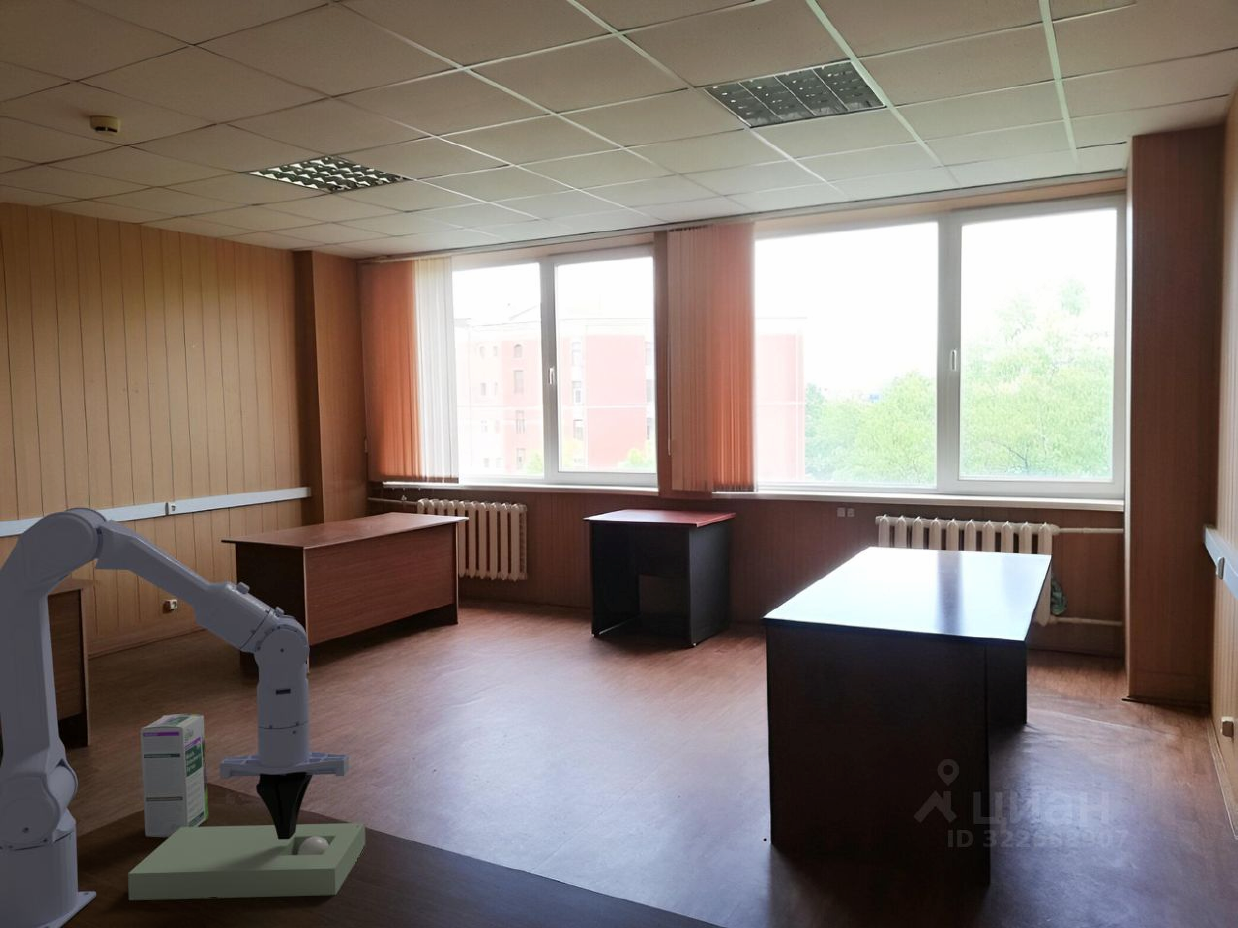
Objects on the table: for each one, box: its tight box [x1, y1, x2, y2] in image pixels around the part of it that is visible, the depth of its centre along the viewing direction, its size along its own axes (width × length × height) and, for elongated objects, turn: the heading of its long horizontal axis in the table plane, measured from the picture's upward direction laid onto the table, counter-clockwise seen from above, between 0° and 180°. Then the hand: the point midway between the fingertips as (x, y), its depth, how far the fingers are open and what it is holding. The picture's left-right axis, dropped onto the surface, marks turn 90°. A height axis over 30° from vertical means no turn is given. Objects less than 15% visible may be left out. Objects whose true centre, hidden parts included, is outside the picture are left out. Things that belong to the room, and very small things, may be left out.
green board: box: [127, 822, 366, 901], centre depth 104 cm, size 23×12×3 cm, turn 91°
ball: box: [298, 836, 329, 855], centre depth 104 cm, size 4×4×4 cm
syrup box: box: [139, 713, 209, 838], centre depth 117 cm, size 6×6×14 cm
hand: (286, 835), depth 104 cm, fingers closed
